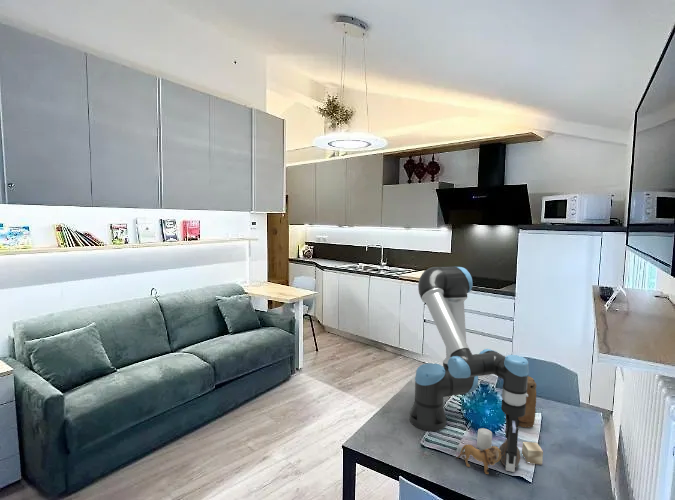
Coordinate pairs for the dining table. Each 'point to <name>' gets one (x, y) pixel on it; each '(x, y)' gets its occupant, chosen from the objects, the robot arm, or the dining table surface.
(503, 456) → the vase
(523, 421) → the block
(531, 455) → the birch block
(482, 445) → the white cylinder
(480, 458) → the lion figurine
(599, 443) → the dining table surface
